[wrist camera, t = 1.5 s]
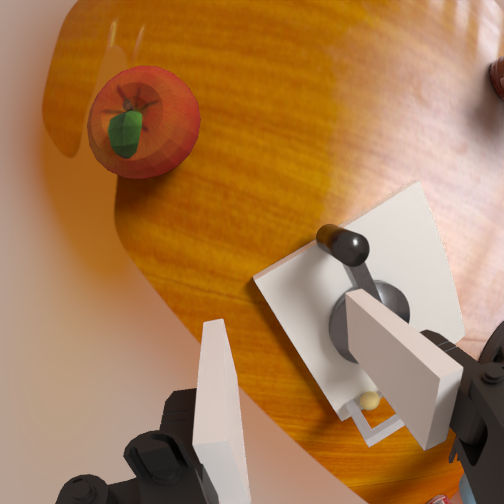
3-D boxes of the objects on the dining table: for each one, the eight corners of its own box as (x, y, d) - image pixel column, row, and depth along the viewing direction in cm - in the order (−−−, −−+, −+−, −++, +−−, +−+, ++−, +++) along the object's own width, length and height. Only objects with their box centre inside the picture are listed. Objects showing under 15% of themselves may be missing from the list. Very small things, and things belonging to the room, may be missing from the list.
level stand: (459, 330, 36) (498, 356, 27) (338, 414, 36) (360, 458, 28) (411, 180, 31) (461, 181, 22) (252, 276, 31) (263, 307, 23)
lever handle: (418, 346, 33) (447, 372, 27) (356, 388, 33) (377, 421, 27) (361, 202, 29) (394, 207, 23) (280, 250, 29) (296, 267, 23)
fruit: (203, 81, 27) (196, 36, 17) (204, 177, 29) (196, 171, 19) (108, 91, 26) (66, 57, 16) (108, 184, 28) (60, 184, 18)
